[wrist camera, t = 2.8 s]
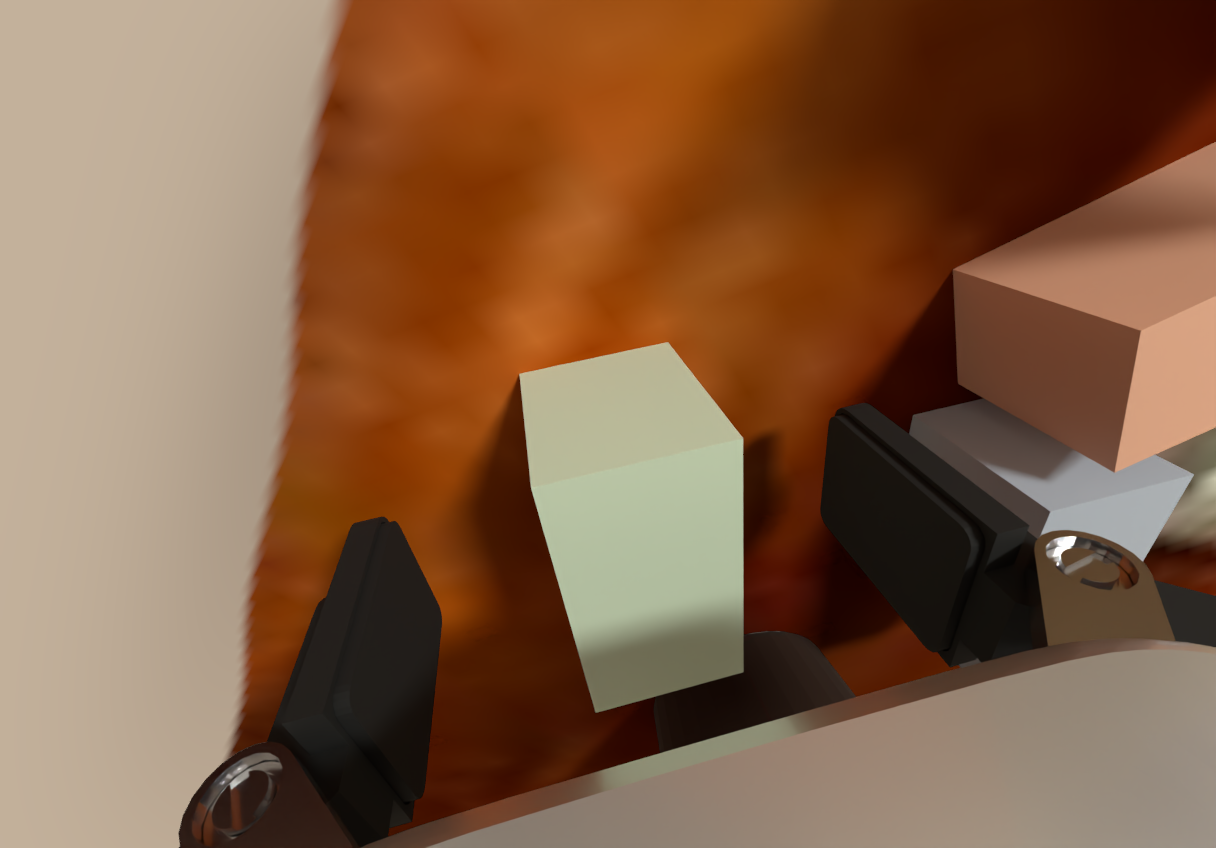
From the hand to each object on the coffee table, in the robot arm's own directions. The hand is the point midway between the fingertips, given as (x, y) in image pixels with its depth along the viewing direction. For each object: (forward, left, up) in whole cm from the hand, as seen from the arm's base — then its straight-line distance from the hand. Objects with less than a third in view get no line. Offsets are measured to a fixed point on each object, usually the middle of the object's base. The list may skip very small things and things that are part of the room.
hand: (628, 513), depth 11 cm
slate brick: (-10, +4, -2) cm, 10 cm away
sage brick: (0, 0, -2) cm, 2 cm away
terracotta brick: (-12, -2, -2) cm, 12 cm away
